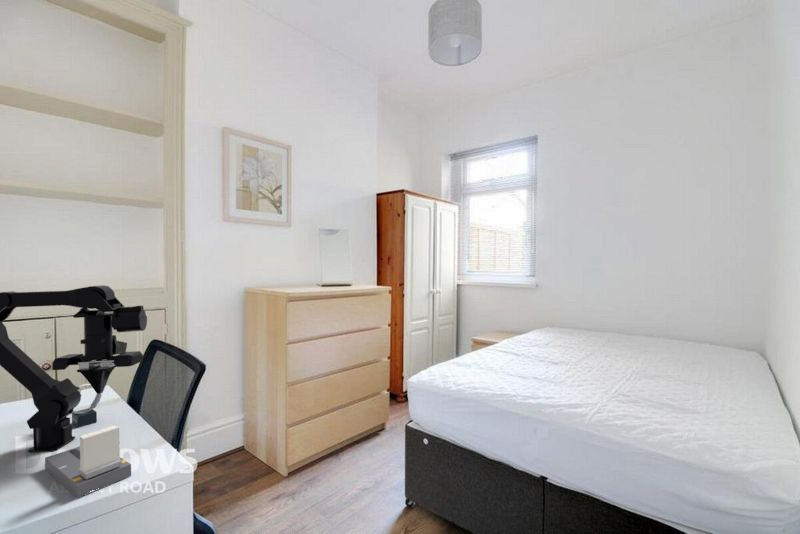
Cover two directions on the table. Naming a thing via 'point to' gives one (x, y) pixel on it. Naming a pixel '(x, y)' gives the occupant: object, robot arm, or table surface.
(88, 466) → the fader
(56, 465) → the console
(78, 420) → the watch
